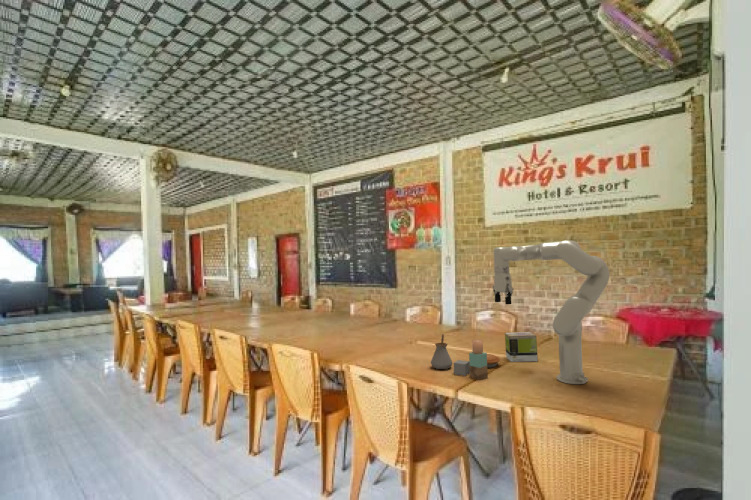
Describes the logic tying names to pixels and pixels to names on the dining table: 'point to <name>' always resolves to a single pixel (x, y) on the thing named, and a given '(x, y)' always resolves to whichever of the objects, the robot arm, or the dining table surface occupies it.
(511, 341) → the tea box
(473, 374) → the block
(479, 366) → the tower top
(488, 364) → the pie
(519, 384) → the dining table surface
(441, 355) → the coffee pot
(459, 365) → the block
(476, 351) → the pink rounded piece
